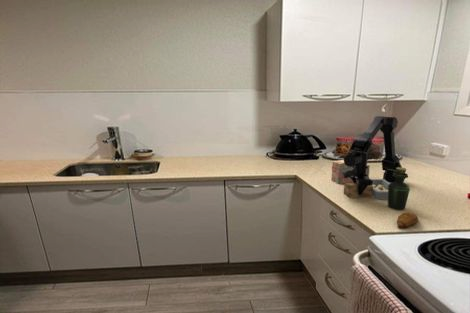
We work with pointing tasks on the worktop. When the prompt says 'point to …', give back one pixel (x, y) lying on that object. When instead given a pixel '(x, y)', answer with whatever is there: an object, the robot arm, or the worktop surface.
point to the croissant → (407, 220)
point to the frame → (379, 193)
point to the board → (356, 190)
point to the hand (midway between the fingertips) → (357, 193)
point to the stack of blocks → (337, 174)
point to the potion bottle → (398, 190)
